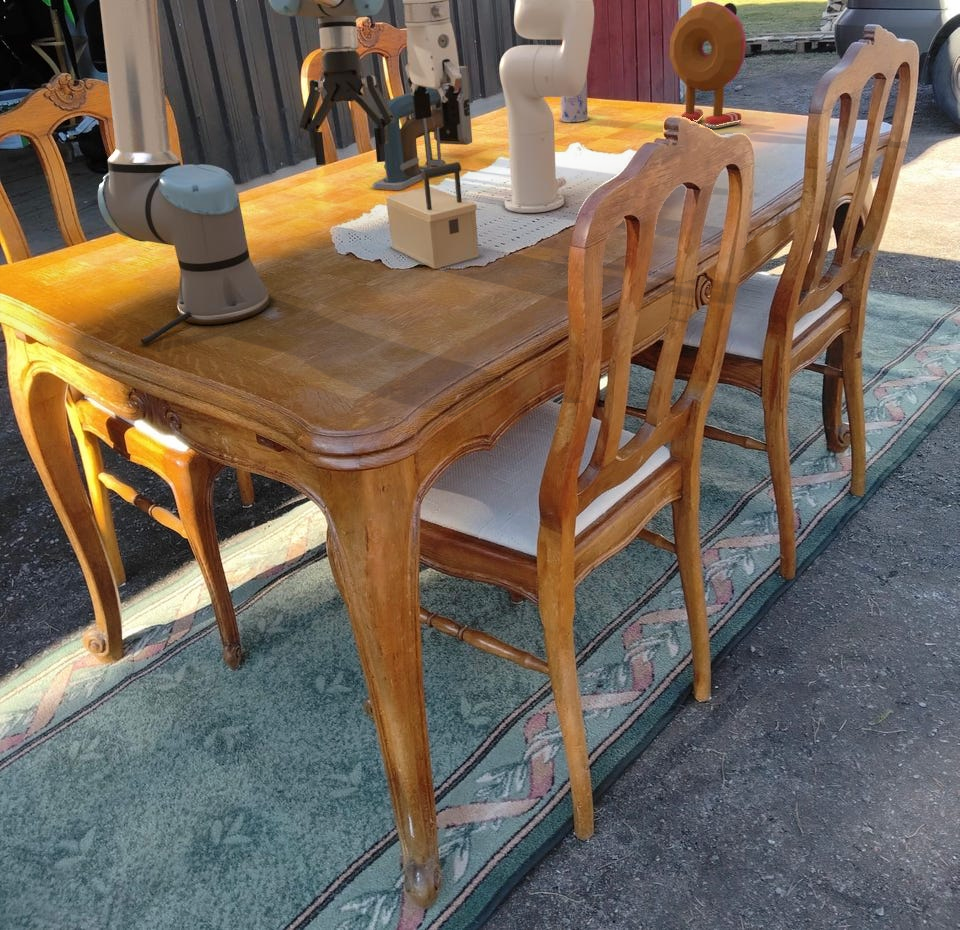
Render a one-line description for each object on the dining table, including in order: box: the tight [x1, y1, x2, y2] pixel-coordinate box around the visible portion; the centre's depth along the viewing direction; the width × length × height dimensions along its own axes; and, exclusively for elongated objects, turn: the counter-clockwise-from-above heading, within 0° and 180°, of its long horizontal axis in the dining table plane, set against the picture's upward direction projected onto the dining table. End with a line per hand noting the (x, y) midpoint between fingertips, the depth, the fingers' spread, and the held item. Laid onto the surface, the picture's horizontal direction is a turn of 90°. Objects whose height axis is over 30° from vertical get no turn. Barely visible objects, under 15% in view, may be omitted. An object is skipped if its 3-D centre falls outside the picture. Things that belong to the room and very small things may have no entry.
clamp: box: [371, 65, 473, 191], centre depth 234 cm, size 35×9×21 cm, turn 151°
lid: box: [385, 161, 478, 222], centre depth 177 cm, size 17×10×8 cm, turn 32°
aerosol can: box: [560, 75, 589, 123], centre depth 273 cm, size 8×8×20 cm
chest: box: [386, 202, 480, 270], centre depth 182 cm, size 17×10×9 cm, turn 32°
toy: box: [669, 1, 747, 129], centre depth 252 cm, size 21×10×30 cm, turn 47°
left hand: (350, 163), depth 199 cm, fingers open, 13 cm apart
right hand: (437, 121), depth 167 cm, fingers open, 9 cm apart
